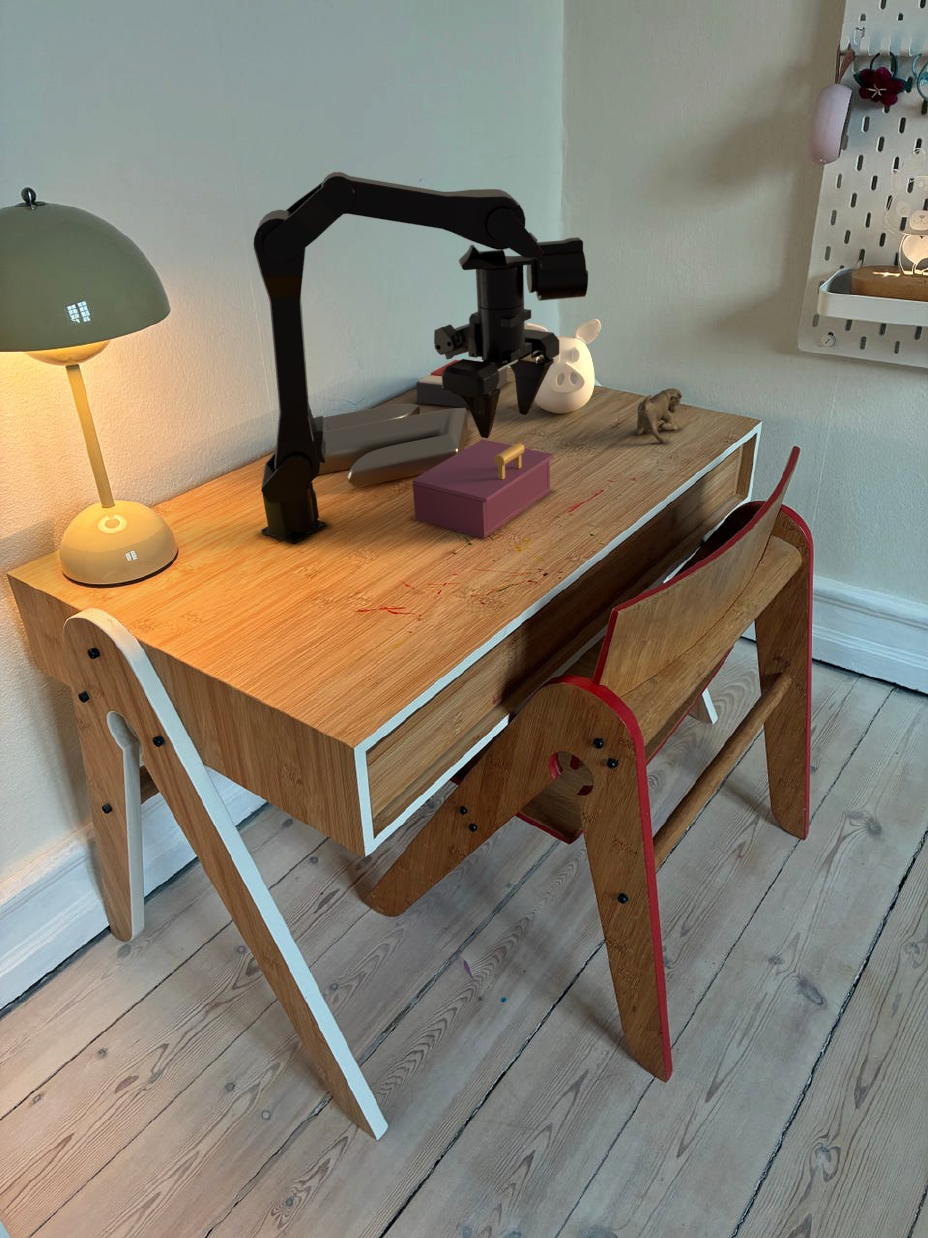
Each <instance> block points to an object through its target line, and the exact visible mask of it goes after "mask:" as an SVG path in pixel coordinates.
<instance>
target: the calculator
mask: <svg viewBox="0 0 928 1238" xmlns="http://www.w3.org/2000/svg"><path fill="white" fill-rule="evenodd" d="M459 360H460V359H454V360H452V361H450V362H448V363H447V364H445V365H443V366H441V367H439V368H438V369H435V370H433V371H432V372H430V374H428V375H426V376H425V377H422V378H421V379H419V380H418V381H417V382H416V383H415V384H416V385H415V386H416V402H417V403H419V404H429V405H434V406H435V405H437V406H444V407H453V408H466V409H469V408H468V406H467V404H466V402H465V400H464V399H463V398H461V397H460V396H459V395H456V394H452V393H451V392H450V391H448V390H443V388H442V374H441V373H442V372H443V370H444V369H445V368H446V367H447V366H449V365H451V364H453V363H455V362H457V361H459ZM507 383H508V367H506V368H504V369H502V370H500V371H499V383H498V385H497V389H500V388H502V387H503V386H505V385H506V384H507Z"/></svg>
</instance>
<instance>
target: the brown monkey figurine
mask: <svg viewBox="0 0 928 1238" xmlns="http://www.w3.org/2000/svg"><path fill="white" fill-rule="evenodd" d="M682 397H683V393H682V391H681V390H679V389H678V388H674V387H673V388H667V389H663V390H661V391H660V392H659V393H658V392H657V393H655V395H652V394H649V395H647V396H646V397H645V398H644V399H643V401H641V402H640V403H639V404H638V406H637V425H636V426H637V427H636V429H635V435H637V436H638V435H642V434H643V433H644V432H645V433H646V434H648V433H651V435H652V436H653V437H654V438H655V439H656V440H657V441H659V442H660V443H661V444H666V442H667V441H666V438H664V437H663V436H662V435H661V434H660V433H659V431H658V429H657V427H658V428H659V429H660V430H661V431H676V430H678V429H679V428H678V426H677V420H676V419H675V418H674V416H673V415H672V414H674V413H676V412H677V409H678V406H679V404H680V403H681V401H682ZM660 421H663V422H662V423H660V424H659V425H658V426H657V423H658V422H660Z"/></svg>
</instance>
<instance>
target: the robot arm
mask: <svg viewBox="0 0 928 1238" xmlns="http://www.w3.org/2000/svg"><path fill="white" fill-rule="evenodd" d="M343 215H352V216H359V217H366V218H371V219H378V220H384V221H389V222H396V223H402V224H408V225H415V226H422V227H429V228H434V229H440V230H444V231H447V232H450V233H453V234H454V235H456V236H459V237H461V238H464V239H466V240H467V241H470V242H472V243H476V244H479V245H481V246H485V247H487V248H490V249H492V250H481V251H480V250H479V249H478V248H477V247H476V246H475V245H474V244H470V245H469V247H468V249H467V251H466V252H465V253H464V254H463V255H462V256H461V257H460V258H459V260H458V263H459V265H460V267H461V270H463V271H473V270H475V283H476V303H477V304H476V307H477V311H476V312H473V313H471V314H470V316H469V318H468V323H467V324H464V325H461V326H458V327H454V326H453V325H452V324H447V325H445V326H441V327H439V328H437V329H434V330H433V331H434V332H433V333H434V334H433V335H434V336H433V344H434V350H435V351H436V353H437V354H439V355H440V356H442V355H443V356H445V359H446V360H452V359H453V358H454V357H455V356H459V355H461V354H466V353H468V354H467V355H468V358H475V359H477V358H481V360H473V359H467V358H461V359H458V360H459V361H457V362H455V363H453V364H451V365H449V366H447V367H446V368H445V369H444V370H443V372H442V373H441V374H442V388H443V390H448V391H450V392H451V393H452V394H456V395H459V396H460V397H461V398H463V399H464V400H465V402H466V404H467V406H468V408H467V409H468V410H469V412H470V414H471V416H472V419H473V422H474V424H475V427H476V429H477V431H478V433H479V436H480V437H481V439H489V438H490V436H491V433H492V430H493V425H494V421H495V418H496V412H497V408H498V403H499V399H500V395H501V389H500V388H498V389H497V385H498V383H499V371H500V370H502V369H504V368H508V367H510V368H511V370H512V371H513V374H514V381H515V388H516V389H515V390H516V400H517V401H516V402H517V408H518V412H519V415H521V416H527V415H528V414H529V412H530V410H531V408H532V406H533V403H534V402H535V401H534V399H535V397H536V395H537V392H538V390H539V388H540V386H541V384H542V382H543V380H544V378H545V376H546V374H547V372H548V370H549V368H550V366H551V365H552V364H553V363H554V359H553V358H554V357H555V356H557V355H559V339H558V338H557V337H556V336H557V335H556V334H555V333H554V332H552V331H548V332H545V331H537V330H530V329H525V323H526V321H528V320H530V319H532V309H528V308H527V309H526V308H525V281H524V279H525V278H524V276H525V275H524V274H525V273H524V266H526V268H525V269H526V285H527V291H528V293H529V294H534V293H535V295H536V298H537V300H538V302H540V301H541V302H543V301H554V300H564V299H565V300H566V299H576V298H585V297H586V295H587V292H588V287H589V271H588V269H587V262H586V256H585V252H584V241H583V240H582V239H581V238H580V237H579V236H578V237H577V236H576V237H568V238H565V239H562V240H549V241H540V242H539V241H538V239H537V238H536V237H535V235H534V234H533V233H532V232H529V231H528V229H527V228H526V215H525V211H524V209H523V208H522V206H521V204H520V203H519V202H518V201H517V200H516V199H515V198H514V197H513V196H512V195H511V194H509V193H508V192H507V191H504V190H503V189H499V188H485V189H483V188H481V189H464V190H458V191H457V190H456V191H455V190H454V191H442V190H435V189H430V188H424V187H417V186H412V185H406V184H400V183H394V182H387V181H381V180H376V179H370V178H363V177H358V176H353V175H352V176H351V175H349V174H346V173H344V172H341V171H333V172H331V173H329V174H327V175H326V176H325V177H324V178H323V180H322V182H320V183H319V184H318V185H317V186H316V187H314V188H312V189H311V190H310V191H308V192H307V193H305V194H304V195H303V196H301V197H300V198H298V200H296V201H295V202H294V203H292V205H290V206H289V207H288V208H286V209H275V210H272V211H270V212H268V213H266V214H264V216H263V217H262V218H261V219H260V222H259V223H258V226H257V229H256V231H255V234H254V237H253V251H254V254H255V258H256V262H257V265H258V266H257V267H258V269H259V273H260V276H261V280H262V282H263V286H264V289H265V291H266V294H267V297H268V301H269V310H270V311H269V312H270V321H271V333H272V341H273V342H272V344H273V345H272V346H273V354H274V365H275V366H274V367H275V377H276V391H277V401H278V411H279V415H278V424H277V432H276V433H277V434H276V441H275V442H276V443H275V452H273V454H272V455H271V457H270V458H268V460H267V461H266V462H265V464H264V469H263V477H262V482H261V489H260V491H261V493H262V494H261V495H262V500H263V505H264V512H265V518H266V522H267V523H266V524H267V526H266V527H263V528H262V529H260V533H261V535H264V536H266V537H269V538H272V539H275V540H279V541H281V542H285V543H288V544H291V545H297V544H299V543H300V542H302V541H304V540H306V539H308V538H309V537H311V536H312V535H314V534H316V533H318V532H319V531H321V530H323V529H325V528H326V527H328V524H327V523H328V522H326V521H325V520H324V521H323V520H321V519H319V518H320V513H319V507H318V501H317V499H318V498H317V493H316V490H315V489H314V485H313V481H314V480H315V479H317V477H318V476H319V475H318V474H319V470H320V462H322V463H325V453H326V442H325V440H324V438H323V422H324V417H325V416H323V415H321V416H316V417H314V415H313V412H312V409H311V406H310V403H309V402H310V401H309V390H308V389H309V388H308V376H307V375H308V373H307V362H306V361H307V360H306V347H305V346H306V345H305V332H304V319H303V318H304V317H303V304H302V303H303V302H302V289H303V288H302V287H303V278H304V269H305V260H306V259H305V258H306V248H307V247H308V246H309V245H311V244H312V243H313V242H314V241H315V240H317V239H318V238H319V237H320V236H321V235H322V234H323V233H324V232H325V231H327V230H328V228H329V227H331V226H332V225H333V224H334V223H335V222H336V221H337V220H338V219H340V218H341V217H342V216H343ZM508 249H510V250H511V251H512V252H514V253H516V254H518V255H506V253H505V250H508Z"/></svg>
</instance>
